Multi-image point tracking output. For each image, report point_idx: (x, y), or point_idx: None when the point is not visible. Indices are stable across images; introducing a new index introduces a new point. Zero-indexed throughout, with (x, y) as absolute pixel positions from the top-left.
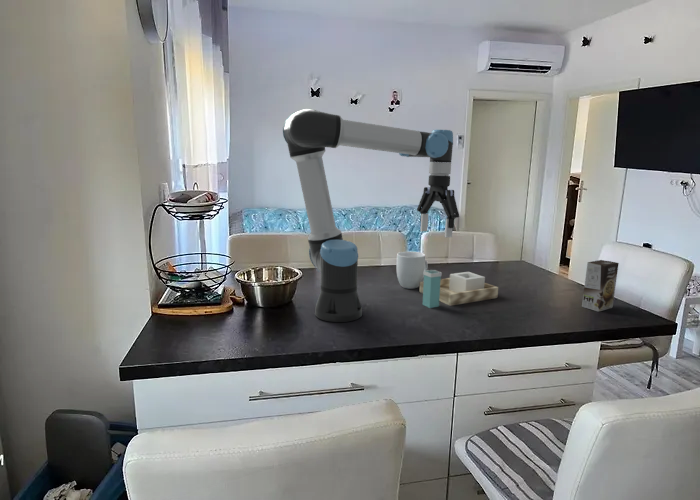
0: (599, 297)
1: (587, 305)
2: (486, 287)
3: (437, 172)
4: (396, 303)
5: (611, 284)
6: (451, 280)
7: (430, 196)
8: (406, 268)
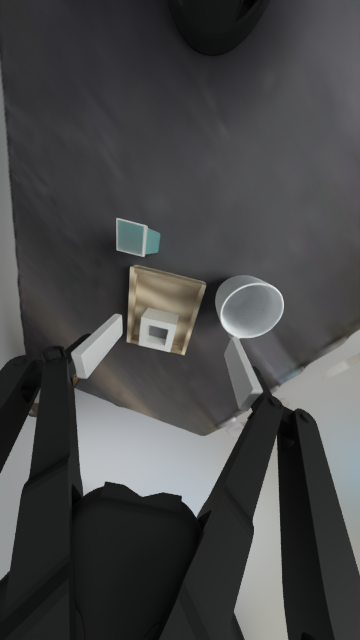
0: None
1: None
2: None
3: None
4: (189, 196)
5: None
6: (173, 320)
7: (204, 577)
8: (235, 280)
